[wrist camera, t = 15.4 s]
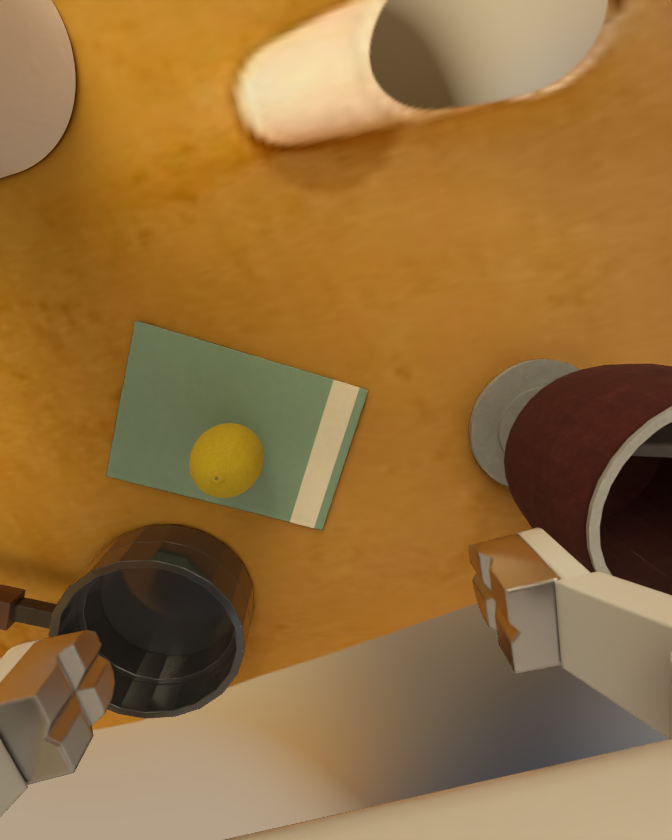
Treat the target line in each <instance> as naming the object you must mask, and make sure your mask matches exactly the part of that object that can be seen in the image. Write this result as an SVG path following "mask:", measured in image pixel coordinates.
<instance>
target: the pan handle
mask: <svg viewBox="0 0 672 840" xmlns="http://www.w3.org/2000/svg"><path fill="white" fill-rule="evenodd" d="M24 595H25V590H24V589H19V588H15V587H10V586H5V585H0V629H2V630H7V629H8V628H9V627H10V626H11V625H12V624H13V623H14V622H20V623H25V624H29V625H34V626H39V627H44V628H49V629H50V625H51V619H52V613H53V610H54V608H55V607H56V605H57V604H53V603H48V602H43V601H38V600H33V599H29V598H24Z"/></svg>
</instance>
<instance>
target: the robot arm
mask: <svg viewBox="0 0 672 840" xmlns="http://www.w3.org/2000/svg"><path fill="white" fill-rule="evenodd" d="M75 89H76V74H75V63H74V57H73V52H72V48H71V44H70V40H69V37H68V34H67V31H66V28H65V26H64V23H63V21H62V19H61V17H60V15H59V13H58V11H57V9H56V7H55V5H54V3H53V2H52V0H0V178H3V177H6V176H9V175H12V174H15V173H18V172H21V171H23V170H26V169H28V168H30V167H32V166H33V165H35V164H36V163H38V162H39V161H41V160H42V159H43V158H44V157H46V156H47V155H48V154H49V153H50V152H51V151H52V149H53V148H54V147H55V146H56V144H57V143H58V142H59V140H60V139H61V137H62V135H63V133H64V132H65V130H66V127H67V125H68V123H69V120H70V117H71V114H72V109H73V105H74V99H75ZM469 558H470V563H471V564H472V566H473V568H474V569H475V571H476V572H477V573H476V575H475V576H474V578H473V585H474V591H475V595H476V599H477V602H478V605H479V608H480V610H481V613H482V615H483V617H484V619H485V621H486V623H487V625H488V626H489V627H490V628H492V629H493V630H495V631H497V635H498V642H499V646H500V647H501V649H502V651H503V653H504V654H505V656H506V658H507V659H508V661H509V663H510V665H511V666H512V668H513V670H514V672H515V673H520V672H526V671H531V670H536V669H541V668H546V667H552V666H557V665H561V666H562V668H564V669H565V670H567V671H568V672H570V673H571V674H573V675H574V676H576V677H577V678H579V679H580V680H582V681H583V682H585V683H586V684H588V685H589V686H590V687H592V688H594V689H595V690H597V691H598V692H599V693H601V694H602V695H604V696H605V697H607V698H609V699H610V700H612V701H613V702H615V703H616V704H617V705H619V706H620V707H622V708H623V709H625V710H626V711H628V712H629V713H631V714H632V715H634V716H635V717H637V718H638V719H640V720H641V721H643V722H644V723H646V724H647V725H649V726H650V727H652V728H653V729H655V730H656V731H658V732H659V733H661V734H662V735H664V736H665V737H667V738H668V739H669V740H664V741H660V742H656V743H651V744H647V745H642V746H638V747H633V748H629V749H625V750H620V751H615V752H611V753H606V754H602V755H597V756H593V757H589V758H584V759H580V760H575V761H571V762H567V763H562V764H558V765H553V766H549V767H544V768H540V769H535V770H531V771H526V772H522V773H518V774H513V775H509V776H504V777H500V778H495V779H491V780H487V781H482V782H478V783H473V784H469V785H464V786H460V787H456V788H451V789H447V790H442V791H438V792H433V793H429V794H425V795H420V796H416V797H411V798H407V799H402V800H398V801H393V802H389V803H385V804H380V805H376V806H371V807H367V808H362V809H358V810H354V811H349V812H345V813H340V814H336V815H331V816H327V817H323V818H318V819H314V820H310V821H305V822H301V823H296V824H292V825H287V826H283V827H278V828H274V829H270V830H266V831H261V832H256V833H252V834H248V835H243V836H238V837H234V838H230V839H225V840H672V595H669V594H666V593H663V592H660V591H657V590H654V589H651V588H648V587H645V586H642V585H639V584H636V583H633V582H629V581H626V580H623V579H620V578H617V577H614V576H611V575H608V574H605V573H602V572H599V571H597V572H592V573H590V572H589V571H588V570H587V569H586V568H585V567H584V566H583V565H582V564H581V563H579V562H578V561H577V560H576V559H575V558H574V557H573V556H572V555H571V554H569V553H568V552H567V551H566V550H565V549H564V548H563V547H562V546H561V545H559V544H558V543H557V542H556V541H555V540H554V539H553V538H552V537H551V536H550V535H548V534H547V533H546V532H545V531H544V530H543V529H540V528H534V529H530V530H526V531H522V532H519V533H515V534H513V535H509V536H505V537H501V538H496V539H492V540H488V541H484V542H480V543H475V544H471V545H469ZM101 645H102V644H101V642H100V640H99V638H98V636H97V634H96V632H93V631H90V630H84V631H79V632H74V633H69V634H64V635H59V636H54V637H49V638H44V639H42V640H35V641H31V642H26V643H22V644H19V645H16V646H14V647H12V648H10V649H9V650H8V651H7V652H6V653H5V655H4V656H3V657H2V658H1V659H0V817H1V816H2V815H3V814H4V813H5V811H7V810H8V809H9V807H10V806H11V805H12V804H13V803H14V802H15V801H16V800H17V799H18V798H19V797H20V795H21V794H22V793H23V792H24V791H25V790H26V789H27V788H28V786H27V785H29V784H33V783H36V782H40V781H44V780H48V779H52V778H56V777H59V776H63V775H67V774H71V773H74V772H75V769H76V768H77V766H78V764H79V762H80V760H81V758H82V757H83V755H84V753H85V751H86V749H87V747H88V745H89V743H90V741H91V739H92V737H93V731H92V725H93V724H94V723H95V722H96V721H97V720H99V719H100V718H101V717H102V716H103V715H104V714H105V712H106V710H107V708H108V706H109V704H110V702H111V700H112V697H113V691H114V685H115V679H114V672H113V669H112V667H111V664H110V662H109V661H108V660H106V659H105V658H103V657H102V656H100V655H98V654H99V651H100V648H101Z"/></svg>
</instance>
